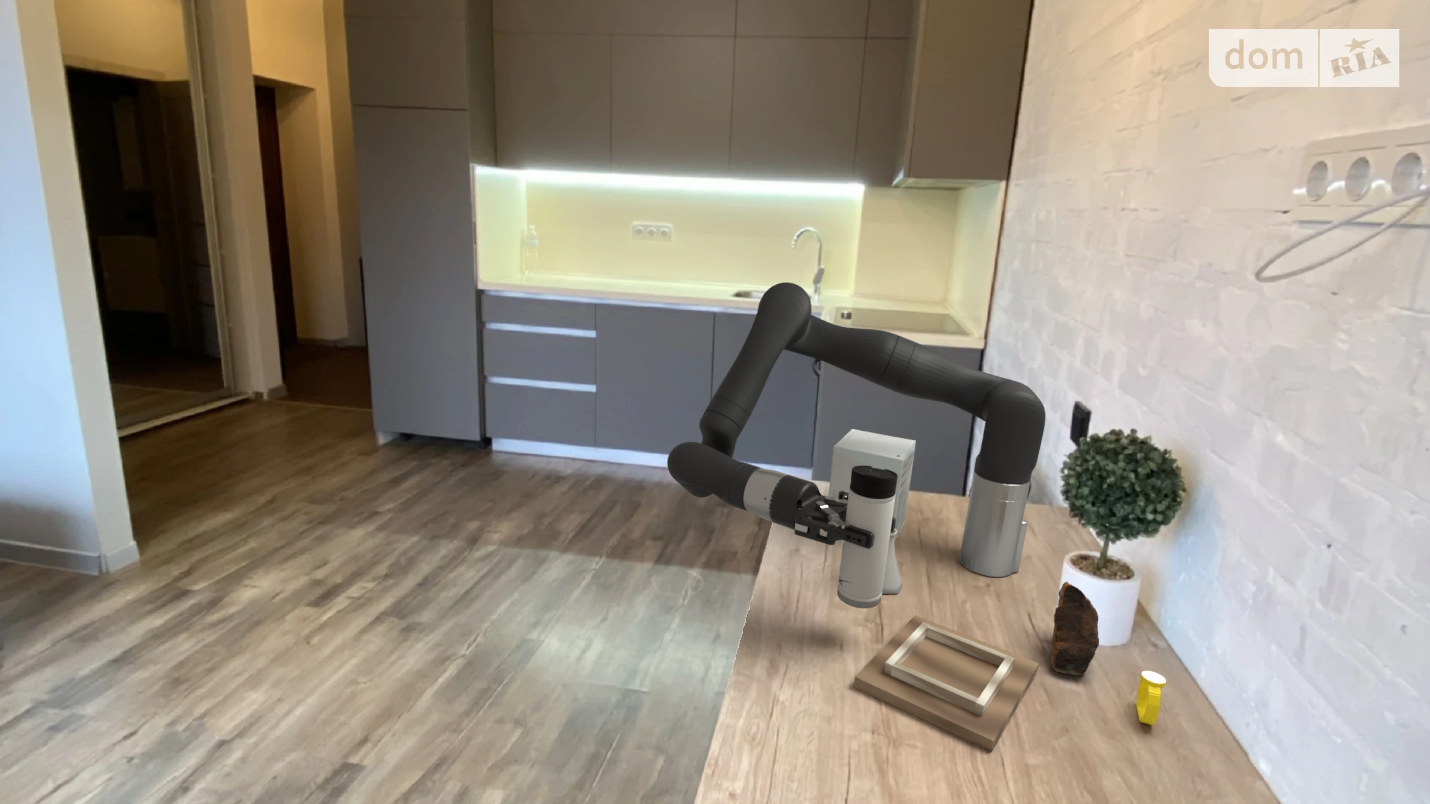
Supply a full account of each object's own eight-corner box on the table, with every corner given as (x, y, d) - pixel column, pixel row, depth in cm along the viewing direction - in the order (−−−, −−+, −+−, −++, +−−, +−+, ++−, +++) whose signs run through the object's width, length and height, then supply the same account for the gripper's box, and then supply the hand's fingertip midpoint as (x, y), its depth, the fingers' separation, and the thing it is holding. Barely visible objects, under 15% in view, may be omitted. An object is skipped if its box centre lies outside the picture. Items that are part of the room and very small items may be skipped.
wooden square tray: (913, 623, 113) (916, 606, 112) (1036, 672, 103) (1040, 654, 102) (853, 686, 98) (856, 666, 97) (991, 751, 87) (995, 730, 87)
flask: (903, 598, 120) (911, 542, 118) (858, 591, 122) (865, 536, 119) (901, 577, 127) (909, 523, 124) (858, 571, 128) (865, 517, 126)
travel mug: (831, 603, 105) (846, 471, 99) (842, 582, 111) (857, 456, 105) (875, 615, 103) (894, 480, 97) (884, 592, 108) (902, 464, 103)
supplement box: (906, 522, 149) (918, 440, 144) (891, 548, 138) (904, 459, 133) (842, 507, 154) (851, 427, 150) (823, 531, 143) (832, 445, 138)
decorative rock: (1048, 630, 114) (1062, 567, 111) (1092, 643, 111) (1107, 578, 108) (1043, 672, 103) (1057, 603, 100) (1091, 686, 101) (1107, 616, 98)
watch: (1128, 702, 99) (1137, 661, 97) (1152, 708, 98) (1161, 667, 96) (1135, 727, 93) (1145, 684, 92) (1160, 734, 92) (1170, 691, 91)
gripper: (756, 488, 105) (863, 524, 96) (807, 463, 116) (908, 493, 107) (752, 536, 107) (857, 577, 98) (803, 507, 118) (901, 540, 109)
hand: (883, 533), depth 102 cm, fingers closed on travel mug, 6 cm apart
